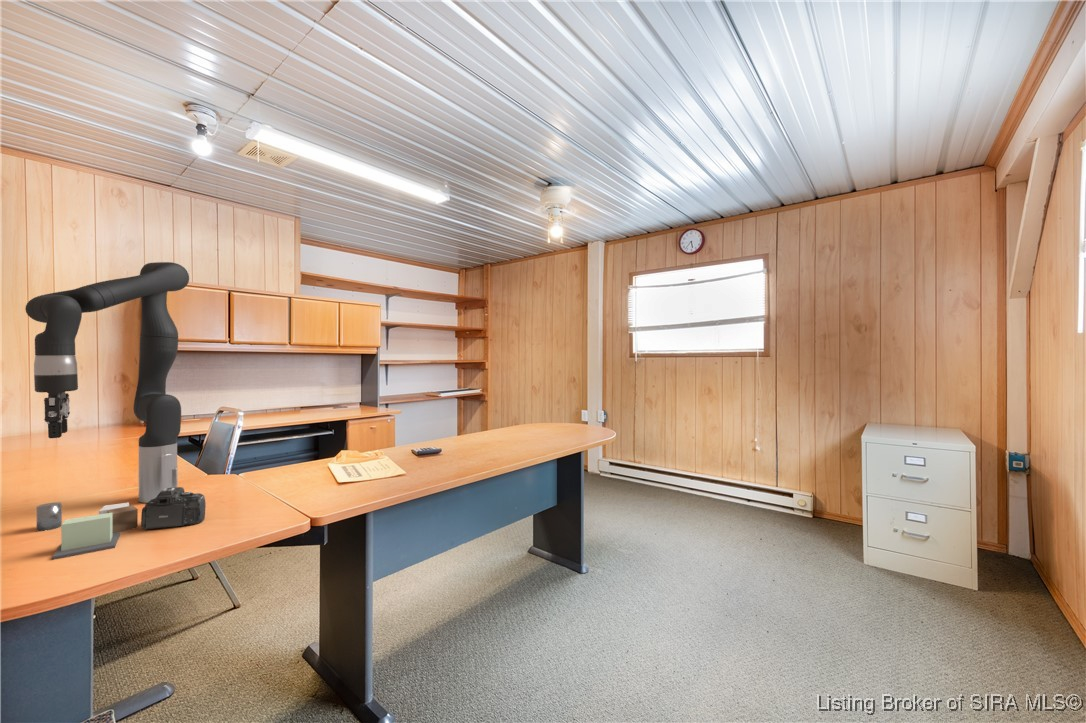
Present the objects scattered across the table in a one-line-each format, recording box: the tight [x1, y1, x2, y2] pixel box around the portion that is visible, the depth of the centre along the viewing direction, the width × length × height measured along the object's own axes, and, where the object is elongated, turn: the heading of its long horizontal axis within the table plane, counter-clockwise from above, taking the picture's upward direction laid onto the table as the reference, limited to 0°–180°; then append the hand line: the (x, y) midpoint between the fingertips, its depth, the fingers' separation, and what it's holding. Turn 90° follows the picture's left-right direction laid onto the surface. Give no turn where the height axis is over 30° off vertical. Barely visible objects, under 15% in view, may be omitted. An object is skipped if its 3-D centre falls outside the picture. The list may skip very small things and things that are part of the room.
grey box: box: [98, 501, 130, 515], centre depth 121 cm, size 5×5×4 cm
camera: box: [140, 486, 207, 530], centre depth 119 cm, size 13×10×10 cm
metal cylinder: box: [36, 501, 63, 532], centre depth 115 cm, size 4×4×6 cm
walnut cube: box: [107, 504, 139, 533], centre depth 115 cm, size 5×5×5 cm
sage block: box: [60, 513, 113, 551], centre depth 105 cm, size 8×4×6 cm, turn 129°
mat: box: [51, 532, 121, 560], centre depth 105 cm, size 10×10×1 cm
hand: (58, 435), depth 114 cm, fingers open, 8 cm apart
